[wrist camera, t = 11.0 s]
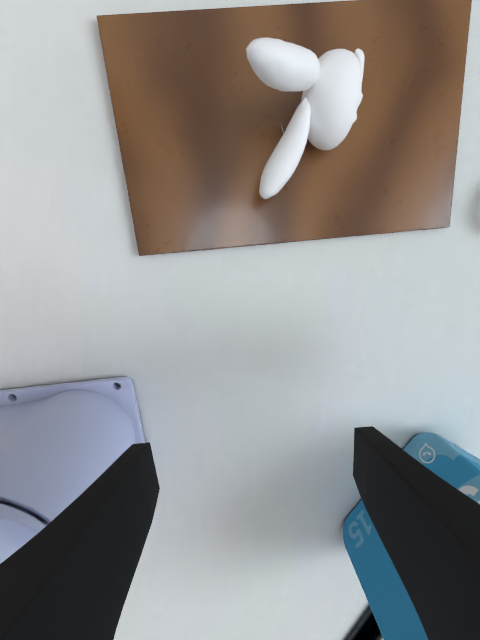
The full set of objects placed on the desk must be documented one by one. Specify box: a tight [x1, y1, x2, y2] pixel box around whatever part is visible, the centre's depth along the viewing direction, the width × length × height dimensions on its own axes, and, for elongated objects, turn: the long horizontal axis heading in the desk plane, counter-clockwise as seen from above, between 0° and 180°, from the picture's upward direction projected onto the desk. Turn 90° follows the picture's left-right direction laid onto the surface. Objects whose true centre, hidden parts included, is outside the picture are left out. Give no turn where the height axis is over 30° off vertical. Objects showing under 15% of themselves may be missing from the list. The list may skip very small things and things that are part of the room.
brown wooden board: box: [97, 0, 472, 256], centre depth 16 cm, size 20×12×1 cm, turn 95°
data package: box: [343, 433, 480, 640], centre depth 17 cm, size 12×4×12 cm, turn 149°
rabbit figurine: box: [246, 38, 365, 199], centre depth 14 cm, size 6×4×8 cm
